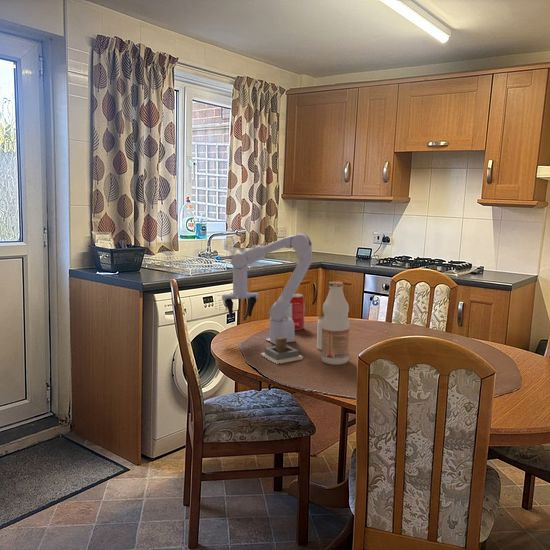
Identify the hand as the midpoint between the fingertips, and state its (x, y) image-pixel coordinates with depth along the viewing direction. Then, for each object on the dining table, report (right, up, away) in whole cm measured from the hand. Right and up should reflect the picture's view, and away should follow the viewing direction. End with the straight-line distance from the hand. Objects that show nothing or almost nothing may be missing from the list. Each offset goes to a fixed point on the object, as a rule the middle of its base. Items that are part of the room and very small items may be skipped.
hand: (240, 316), depth 215 cm
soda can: (+23, -7, +18) cm, 30 cm away
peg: (+16, -12, -22) cm, 30 cm away
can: (+33, -11, -11) cm, 37 cm away
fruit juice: (+35, -14, -26) cm, 46 cm away
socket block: (+16, -13, -22) cm, 30 cm away
